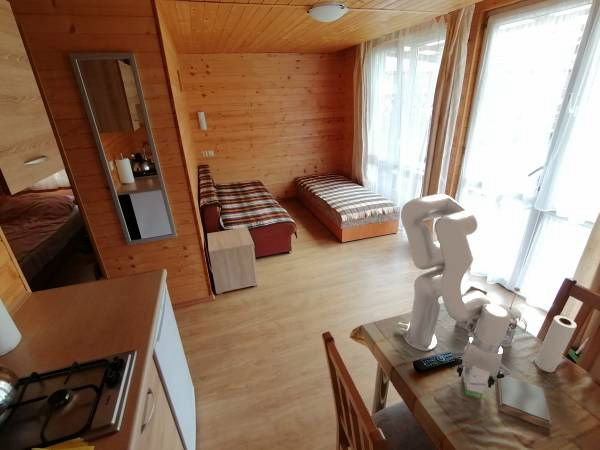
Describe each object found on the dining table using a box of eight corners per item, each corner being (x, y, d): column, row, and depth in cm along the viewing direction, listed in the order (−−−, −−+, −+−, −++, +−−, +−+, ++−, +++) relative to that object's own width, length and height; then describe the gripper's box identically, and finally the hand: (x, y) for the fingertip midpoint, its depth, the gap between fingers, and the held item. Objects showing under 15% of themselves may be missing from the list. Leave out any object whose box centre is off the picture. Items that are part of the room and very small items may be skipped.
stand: (498, 409, 95) (500, 403, 94) (495, 377, 105) (498, 371, 104) (548, 429, 89) (552, 423, 88) (540, 393, 100) (543, 387, 98)
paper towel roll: (549, 375, 106) (571, 330, 97) (531, 362, 111) (550, 318, 102) (560, 367, 109) (582, 322, 100) (541, 355, 114) (561, 311, 105)
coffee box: (470, 332, 125) (480, 301, 118) (455, 324, 129) (463, 294, 122) (478, 321, 130) (488, 291, 124) (463, 314, 135) (471, 285, 128)
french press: (488, 325, 129) (504, 276, 118) (520, 337, 122) (540, 287, 111) (484, 338, 122) (500, 288, 111) (517, 352, 115) (538, 301, 105)
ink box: (481, 399, 98) (490, 374, 93) (465, 394, 100) (473, 369, 95) (477, 378, 105) (486, 353, 100) (462, 373, 107) (469, 349, 102)
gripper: (455, 339, 94) (445, 377, 102) (521, 360, 87) (505, 399, 94) (456, 324, 100) (446, 361, 108) (518, 342, 93) (503, 380, 100)
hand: (474, 378), depth 101 cm, fingers open, 8 cm apart
